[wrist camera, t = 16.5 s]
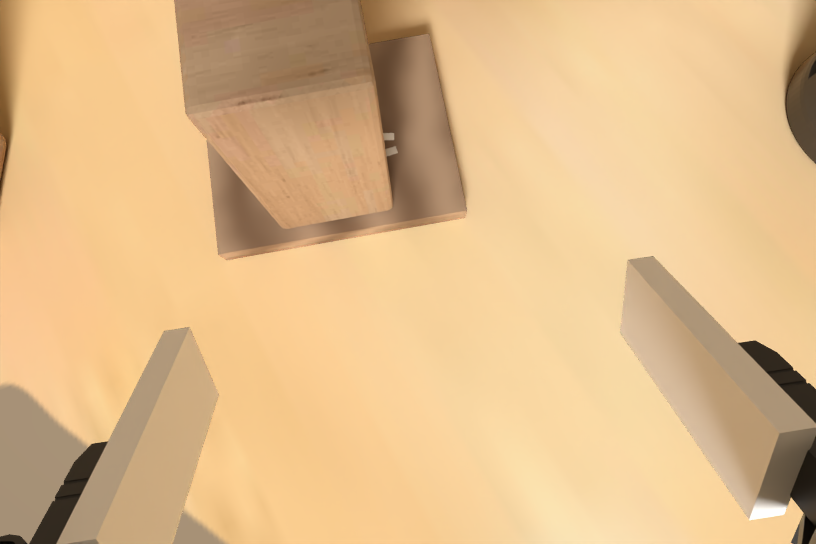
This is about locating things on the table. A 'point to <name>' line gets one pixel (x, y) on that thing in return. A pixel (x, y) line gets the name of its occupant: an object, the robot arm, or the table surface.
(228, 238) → the marked board
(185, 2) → the wooden block
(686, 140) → the table surface
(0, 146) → the block
